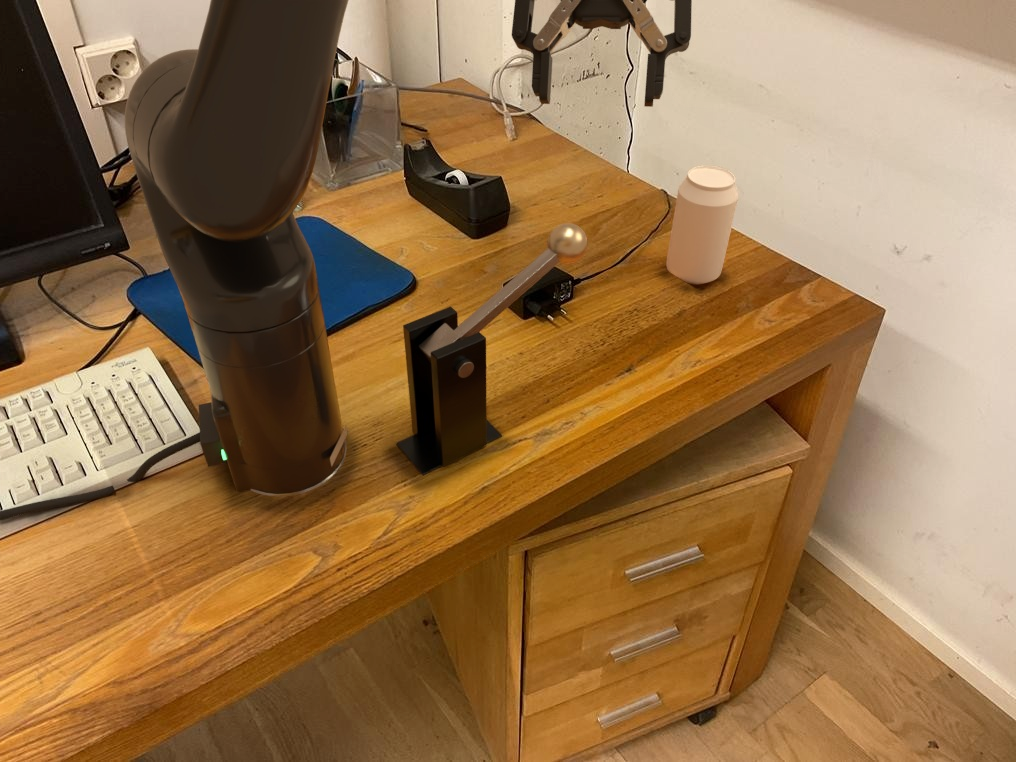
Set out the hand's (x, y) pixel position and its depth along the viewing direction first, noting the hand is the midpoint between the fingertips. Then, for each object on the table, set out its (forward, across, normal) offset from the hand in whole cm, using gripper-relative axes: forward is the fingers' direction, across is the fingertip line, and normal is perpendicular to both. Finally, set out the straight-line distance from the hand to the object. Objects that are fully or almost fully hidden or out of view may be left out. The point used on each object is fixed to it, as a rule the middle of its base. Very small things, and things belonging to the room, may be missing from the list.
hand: (596, 103), depth 66 cm
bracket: (+30, -11, -2) cm, 31 cm away
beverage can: (+14, +10, +25) cm, 31 cm away
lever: (+17, -5, -4) cm, 18 cm away
